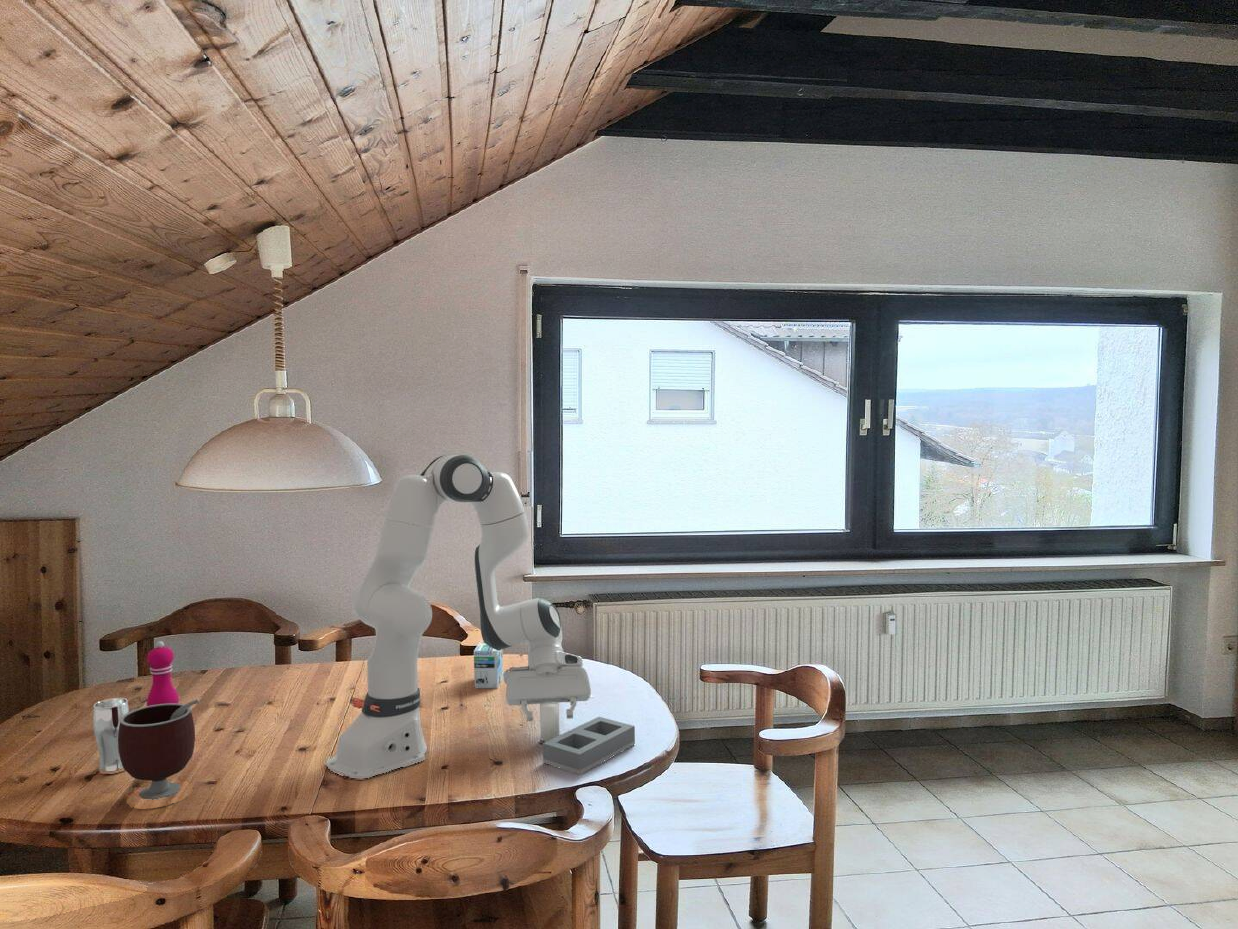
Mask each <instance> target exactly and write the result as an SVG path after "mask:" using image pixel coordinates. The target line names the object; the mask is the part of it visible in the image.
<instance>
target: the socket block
mask: <svg viewBox="0 0 1238 929" xmlns="http://www.w3.org/2000/svg"><path fill="white" fill-rule="evenodd" d="M635 728H636V727H635V725H631V724H629V723H624V722H620V721H616V720H613V719H610V718H609V719H608V718H605V717H603V716H597V717H595V718H593V719H591V720H589V721H588V722H584V723H583V724H581V725H578V726H576V727H574V728H572V729H570V730H568V731H565V732H564V733H562V734H559V736H557V737H555V738H553V739H551V740H549V741H547V742H546V741H544V742H542V764H544V763H546V764H545V765H547V764H549V765H548V766H550V765H552V766H551V767H554V766H555V767H554V768H557V767H560V768H562V769H561V770H563V769H565V770H564V771H566V770H568V771H567V772H569V771H571V772H570V773H573V774H576V773H578V774H577V775H579V774H581V775H582V773H583V774H585V773H586V772H588V771H590V770H591V769H590V768H592V767H594V768H595V767H597V766H599V765H600V764H599V763H601V762H603V761H604V760H606V761H608V760H610V759H611V758H610V757H612V756H613V755H615V754H617V755H619V754H621V753H622V752H621V751H623V750H625V749H626V748H628V749H630V748H632V747H634V746H635V745H636V737H635V736H636V729H635ZM634 744H635V745H634ZM633 745H634V746H633ZM631 746H632V747H631ZM625 751H626V750H625ZM620 752H621V753H620ZM623 752H624V751H623ZM618 753H619V754H618ZM609 758H610V759H609ZM612 758H613V757H612ZM607 759H608V760H607ZM603 763H604V762H603ZM598 764H599V765H598ZM601 764H602V763H601ZM596 765H597V766H596ZM560 768H559V769H560ZM589 769H590V770H589ZM592 769H593V768H592ZM587 770H588V771H587Z"/></svg>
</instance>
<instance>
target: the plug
mask: <svg viewBox="0 0 1238 929" xmlns="http://www.w3.org/2000/svg"><path fill="white" fill-rule="evenodd" d="M539 722H540V723H539V728H540V731H539V733H540V734H539V735H540V736H539V737H540V739H541V740H543V742H547V741H549V740H551V739H553V738H555V737H557V736H559V735H560V703H557V702H554V701H547V702H543V703H541V704H539Z"/></svg>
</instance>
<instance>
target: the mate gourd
mask: <svg viewBox="0 0 1238 929" xmlns="http://www.w3.org/2000/svg"><path fill="white" fill-rule="evenodd" d="M198 703H199V699H193V700H191V701H189V702H186V703H185V704H184V703H178V704H177V703H169V704H158V705H151V706H147V705H146V706H143V707H139V708H136V709H133V710H131V711H130V710H129V712H128V713H126V714H125V715H123V716H122V717H121V718H120V726H119V733H118V751H119V756H120V760H121V763H122V766H123V768H124V770H125V771H124V772H127V774H129V775H130V777H132V778H133V779H136V780H138V781H139V780H140V781H151V783H150V784H151V786H150V787H147V788H145V789H143V790H142V791H141V792H140V793H139V796H140V797H141V798H143V799H152V800H153V799H158V798H163V797H169V796H171V795H173V794H175V793H176V792H178V791H179V790H180V785H179V784H176V783H169V782H168V780H169V779H168V778H169V777H172V776H174V775H176V774H178V773H180V772H181V771H183V769H185V768H186V767H187V765H188V763H189V762H190V761H191V759H192V758H193V754H194V752H195V751H194V750H195V745H196V744H195V742H196V731H195V729H196V727H195V723H194V718H193V714H192V709H191V706H193V705H197V704H198Z"/></svg>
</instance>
